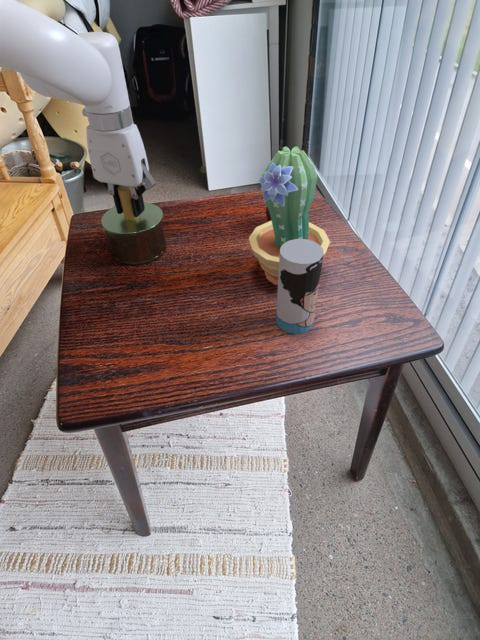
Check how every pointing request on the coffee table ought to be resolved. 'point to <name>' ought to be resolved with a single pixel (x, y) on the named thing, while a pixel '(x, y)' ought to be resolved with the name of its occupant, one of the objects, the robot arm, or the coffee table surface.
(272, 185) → the potted cactus
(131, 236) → the bowl
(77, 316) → the coffee table surface
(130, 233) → the lid
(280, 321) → the white printed cylinder
